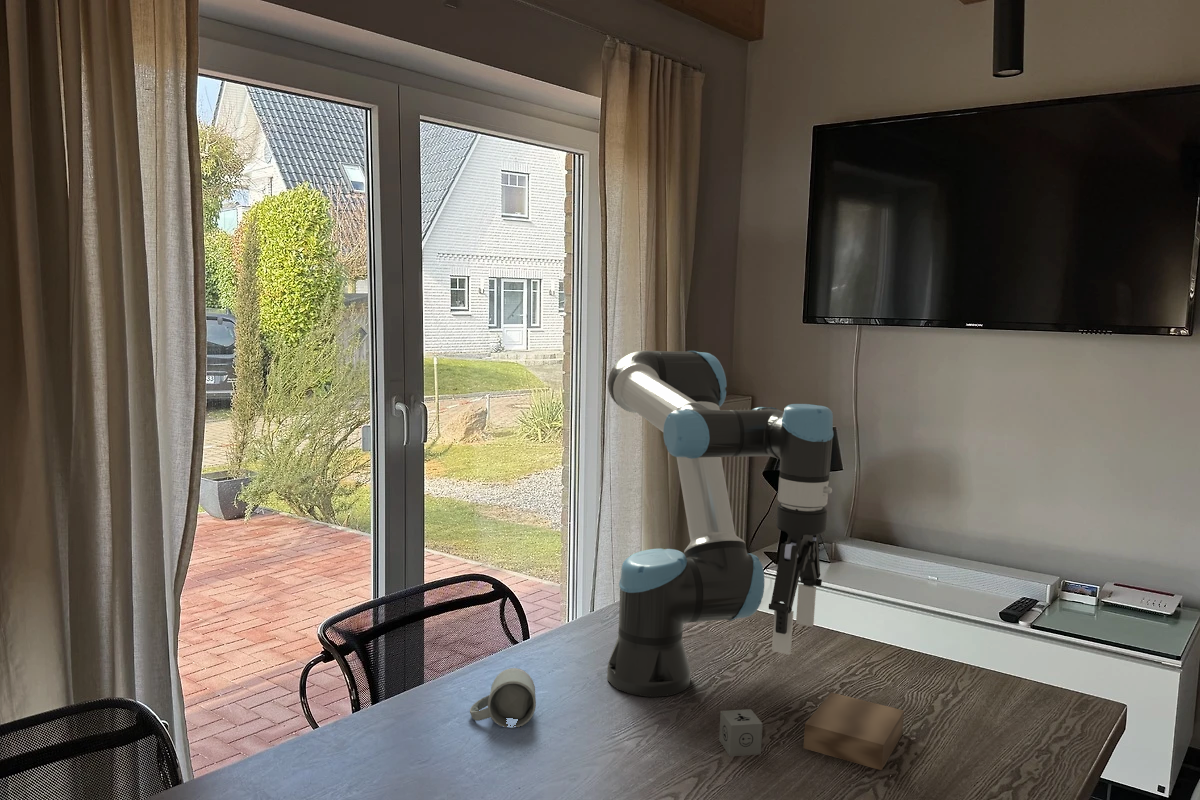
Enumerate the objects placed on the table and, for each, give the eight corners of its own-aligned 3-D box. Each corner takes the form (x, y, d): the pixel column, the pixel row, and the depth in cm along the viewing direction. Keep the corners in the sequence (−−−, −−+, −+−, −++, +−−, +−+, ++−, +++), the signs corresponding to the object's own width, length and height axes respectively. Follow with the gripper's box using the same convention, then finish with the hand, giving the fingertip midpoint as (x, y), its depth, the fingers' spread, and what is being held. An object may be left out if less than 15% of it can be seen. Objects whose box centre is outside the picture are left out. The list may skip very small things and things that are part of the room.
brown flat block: (803, 748, 141) (804, 723, 141) (829, 715, 153) (831, 692, 153) (881, 770, 135) (883, 744, 135) (902, 734, 147) (904, 710, 147)
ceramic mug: (534, 705, 153) (535, 662, 152) (535, 728, 145) (536, 682, 144) (471, 707, 152) (471, 663, 151) (468, 730, 144) (468, 683, 143)
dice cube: (729, 756, 138) (731, 725, 137) (719, 741, 143) (720, 710, 142) (760, 754, 139) (762, 723, 138) (749, 739, 144) (750, 709, 143)
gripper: (805, 525, 127) (795, 670, 129) (844, 494, 149) (835, 618, 151) (753, 517, 130) (745, 659, 132) (799, 488, 152) (791, 609, 155)
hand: (793, 638), depth 142 cm, fingers open, 13 cm apart
